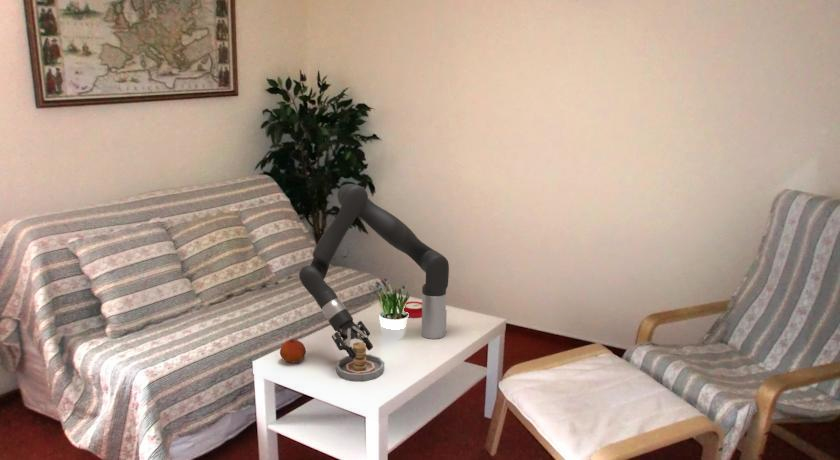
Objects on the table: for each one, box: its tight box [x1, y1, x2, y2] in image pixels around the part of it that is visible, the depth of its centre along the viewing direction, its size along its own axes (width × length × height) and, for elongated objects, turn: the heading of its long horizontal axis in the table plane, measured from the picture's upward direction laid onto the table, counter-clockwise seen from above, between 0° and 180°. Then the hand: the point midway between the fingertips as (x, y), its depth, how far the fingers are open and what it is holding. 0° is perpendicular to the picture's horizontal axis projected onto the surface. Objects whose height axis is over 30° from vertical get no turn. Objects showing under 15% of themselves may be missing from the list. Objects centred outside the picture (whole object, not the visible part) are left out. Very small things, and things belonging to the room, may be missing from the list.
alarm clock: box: [404, 301, 422, 319], centre depth 278 cm, size 10×6×15 cm
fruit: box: [279, 338, 307, 364], centre depth 231 cm, size 9×9×8 cm
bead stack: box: [352, 341, 367, 372], centre depth 224 cm, size 4×4×9 cm
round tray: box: [335, 353, 385, 382], centre depth 225 cm, size 16×16×2 cm
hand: (363, 353), depth 223 cm, fingers open, 8 cm apart
